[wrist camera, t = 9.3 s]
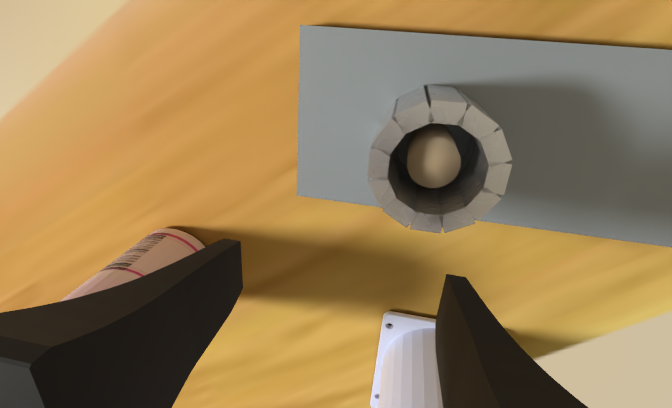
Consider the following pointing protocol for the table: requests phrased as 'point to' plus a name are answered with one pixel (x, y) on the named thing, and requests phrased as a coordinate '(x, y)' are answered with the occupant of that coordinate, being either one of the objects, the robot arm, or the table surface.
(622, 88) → the board
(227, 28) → the table surface
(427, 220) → the gray hollow cylinder
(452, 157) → the post
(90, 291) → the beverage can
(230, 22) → the table surface
